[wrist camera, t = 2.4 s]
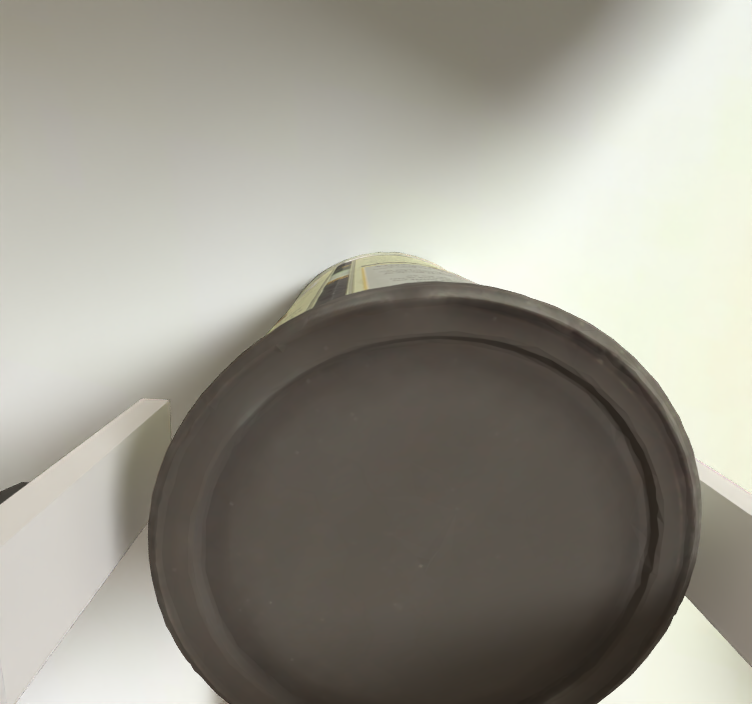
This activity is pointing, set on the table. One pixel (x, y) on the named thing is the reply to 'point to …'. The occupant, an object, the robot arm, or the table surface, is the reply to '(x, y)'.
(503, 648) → the coffee can
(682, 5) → the table surface
